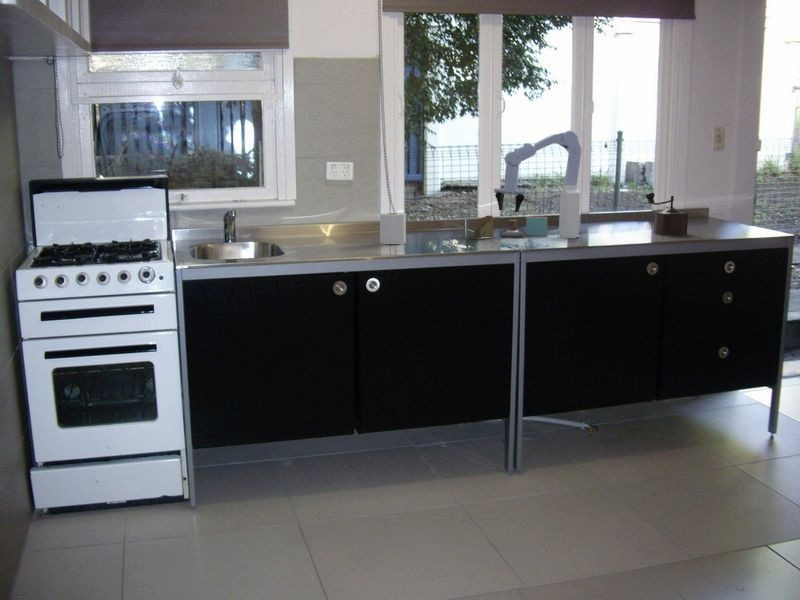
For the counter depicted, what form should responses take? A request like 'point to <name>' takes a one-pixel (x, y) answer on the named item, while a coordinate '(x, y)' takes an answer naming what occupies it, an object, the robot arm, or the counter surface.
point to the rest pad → (513, 234)
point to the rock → (484, 228)
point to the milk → (569, 212)
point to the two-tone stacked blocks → (512, 226)
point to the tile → (536, 226)
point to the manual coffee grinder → (668, 218)
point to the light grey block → (392, 228)
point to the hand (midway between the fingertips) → (508, 211)
